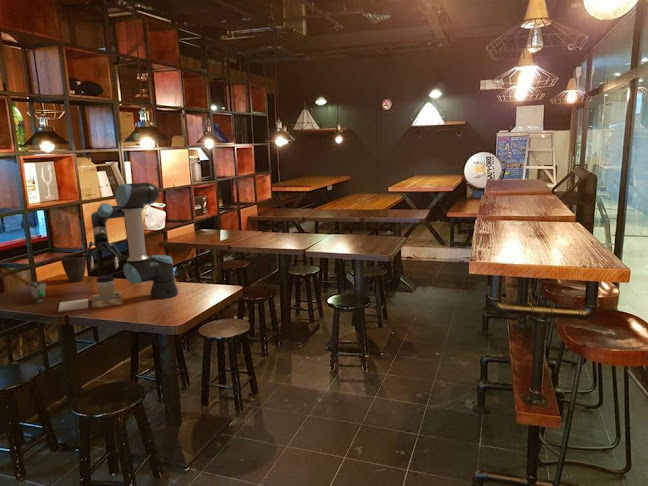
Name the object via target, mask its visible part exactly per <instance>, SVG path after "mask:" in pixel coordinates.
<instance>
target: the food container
mask: <svg viewBox="0 0 648 486" xmlns="http://www.w3.org/2000/svg"><path fill="white" fill-rule="evenodd" d="M29 287H30V293H31V298H32V301H33V300H34V301H33V302H35V303H37V304H42V303H45V302H46V301H45V300H46V288H47V285H46V283H45V281H32V282H29ZM41 302H42V303H41Z"/></svg>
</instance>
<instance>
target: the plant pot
mask: <svg viewBox="0 0 648 486" xmlns="http://www.w3.org/2000/svg"><path fill="white" fill-rule="evenodd" d="M84 255H85V253H75V254H74V253H73V254H66V255H63V256H60V258H59V259H60V262H61V265H62V268H63V271H64V272H65V275H66V278H68V281H69V282H70V283H78V282H82V281H83V280H84V277H85V273H86V267H87V257H84Z"/></svg>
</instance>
